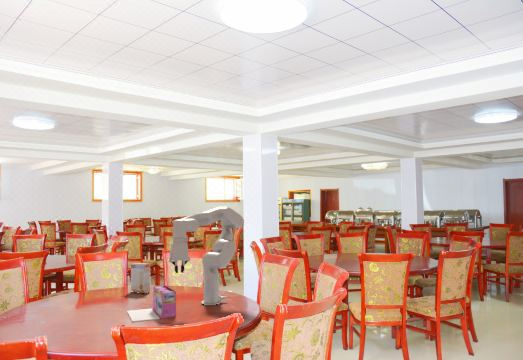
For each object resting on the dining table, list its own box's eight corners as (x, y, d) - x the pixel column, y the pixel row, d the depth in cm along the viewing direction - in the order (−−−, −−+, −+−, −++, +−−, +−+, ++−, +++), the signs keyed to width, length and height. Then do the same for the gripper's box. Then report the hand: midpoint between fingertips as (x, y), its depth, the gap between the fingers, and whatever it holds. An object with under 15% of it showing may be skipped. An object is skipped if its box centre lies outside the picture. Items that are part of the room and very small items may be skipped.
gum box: (152, 309, 247) (152, 286, 248) (165, 308, 250) (165, 285, 251) (162, 318, 225) (162, 292, 227) (176, 316, 229) (176, 291, 230)
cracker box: (150, 292, 300) (150, 263, 301) (143, 294, 295) (144, 264, 296) (136, 291, 307) (137, 262, 309) (130, 292, 302) (130, 263, 304)
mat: (151, 309, 247) (151, 308, 247) (159, 319, 224) (159, 318, 224) (126, 311, 242) (126, 310, 242) (132, 322, 218) (132, 321, 218)
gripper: (191, 239, 251) (191, 271, 249) (164, 240, 244) (164, 272, 243) (194, 240, 244) (194, 272, 243) (167, 241, 238) (166, 274, 236)
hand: (179, 272), depth 243 cm, fingers open, 2 cm apart
